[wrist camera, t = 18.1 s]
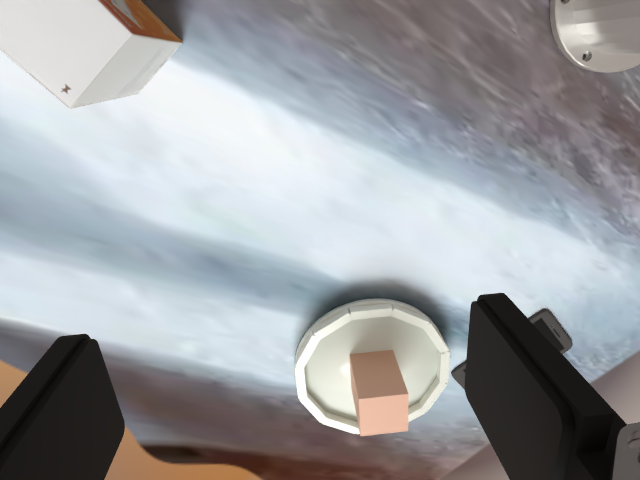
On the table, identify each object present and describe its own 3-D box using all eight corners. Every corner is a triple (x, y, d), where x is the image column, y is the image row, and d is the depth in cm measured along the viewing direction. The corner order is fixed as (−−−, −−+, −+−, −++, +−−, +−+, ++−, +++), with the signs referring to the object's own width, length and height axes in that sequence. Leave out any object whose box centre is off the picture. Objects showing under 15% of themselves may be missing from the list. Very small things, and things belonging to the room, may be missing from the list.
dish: (446, 288, 48) (454, 300, 46) (439, 409, 55) (446, 425, 53) (286, 303, 47) (286, 316, 45) (301, 424, 55) (301, 441, 52)
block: (392, 349, 49) (408, 393, 43) (392, 383, 51) (408, 430, 45) (349, 354, 49) (358, 399, 42) (351, 388, 51) (360, 436, 44)
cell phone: (447, 370, 53) (449, 374, 53) (544, 304, 50) (547, 308, 50) (478, 403, 56) (480, 407, 55) (572, 342, 53) (576, 346, 52)
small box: (185, 42, 37) (135, 35, 25) (138, 95, 38) (69, 113, 26) (105, -41, 34) (6, -94, 22) (57, 20, 35) (-60, 1, 23)
